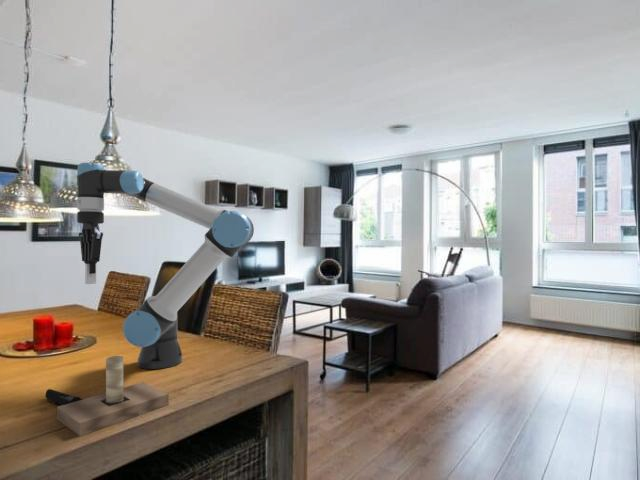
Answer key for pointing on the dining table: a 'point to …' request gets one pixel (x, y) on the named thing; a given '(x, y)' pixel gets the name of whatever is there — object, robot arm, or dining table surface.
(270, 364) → the dining table surface
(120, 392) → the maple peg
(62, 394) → the electric trimmer
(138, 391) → the walnut board
